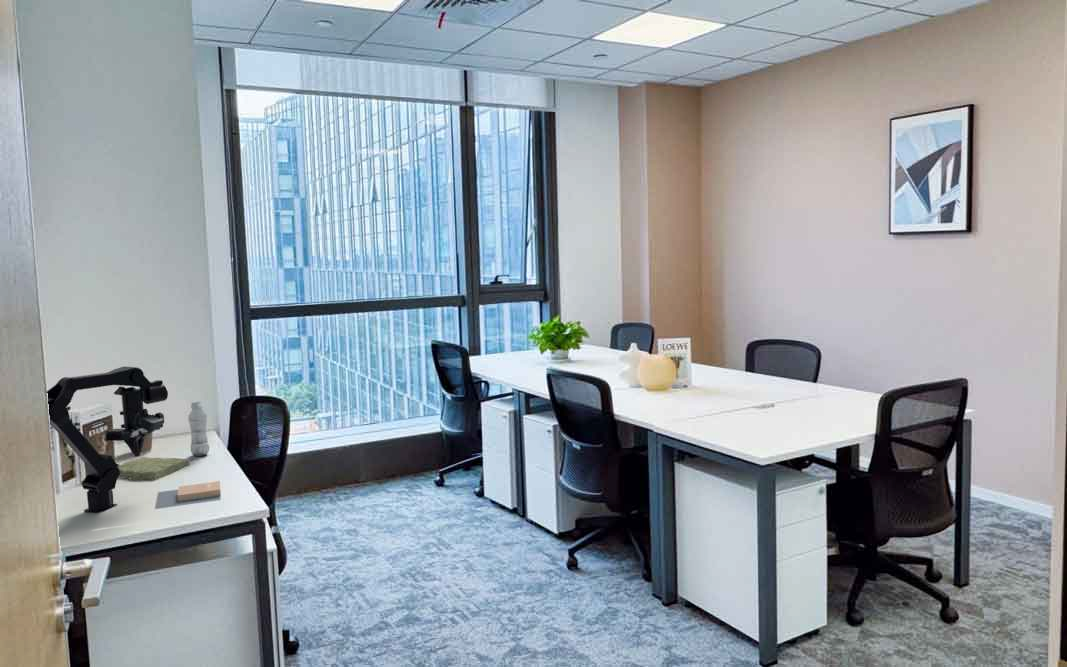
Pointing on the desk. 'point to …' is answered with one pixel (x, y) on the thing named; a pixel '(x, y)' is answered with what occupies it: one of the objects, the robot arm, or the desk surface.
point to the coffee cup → (147, 444)
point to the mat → (172, 499)
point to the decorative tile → (151, 467)
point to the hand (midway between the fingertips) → (137, 456)
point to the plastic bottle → (198, 430)
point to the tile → (199, 491)
